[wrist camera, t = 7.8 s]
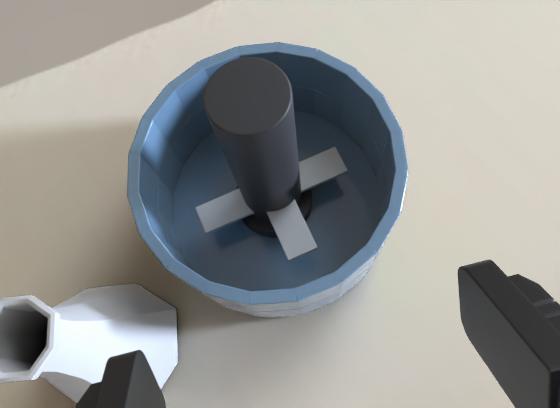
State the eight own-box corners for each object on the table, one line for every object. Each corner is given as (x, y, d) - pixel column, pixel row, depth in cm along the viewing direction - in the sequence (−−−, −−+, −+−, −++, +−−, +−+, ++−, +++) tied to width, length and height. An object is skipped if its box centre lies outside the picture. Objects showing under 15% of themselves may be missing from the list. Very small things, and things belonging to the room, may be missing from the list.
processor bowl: (165, 326, 28) (122, 314, 22) (167, 115, 32) (131, 56, 26) (402, 308, 27) (428, 291, 21) (373, 96, 31) (386, 30, 25)
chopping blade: (204, 278, 28) (126, 218, 16) (202, 142, 30) (134, 9, 19) (354, 266, 27) (381, 196, 16) (339, 130, 30) (353, -14, 19)
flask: (197, 297, 28) (135, 262, 19) (159, 433, 26) (69, 471, 17) (80, 270, 29) (-35, 224, 20) (35, 399, 27) (-118, 417, 18)
